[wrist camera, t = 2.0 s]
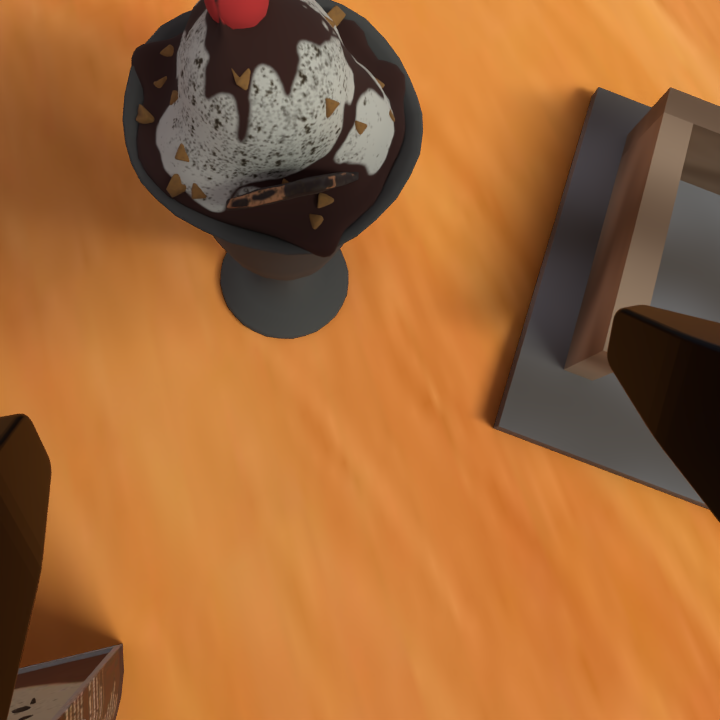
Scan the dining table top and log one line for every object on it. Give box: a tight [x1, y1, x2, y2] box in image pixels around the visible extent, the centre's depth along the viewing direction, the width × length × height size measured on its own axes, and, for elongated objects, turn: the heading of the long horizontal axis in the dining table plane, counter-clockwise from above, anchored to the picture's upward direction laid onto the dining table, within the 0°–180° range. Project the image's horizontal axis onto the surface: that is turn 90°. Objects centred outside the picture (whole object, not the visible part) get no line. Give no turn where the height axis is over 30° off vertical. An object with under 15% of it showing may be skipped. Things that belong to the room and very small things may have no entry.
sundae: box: [123, 0, 423, 339], centre depth 16 cm, size 7×7×15 cm
